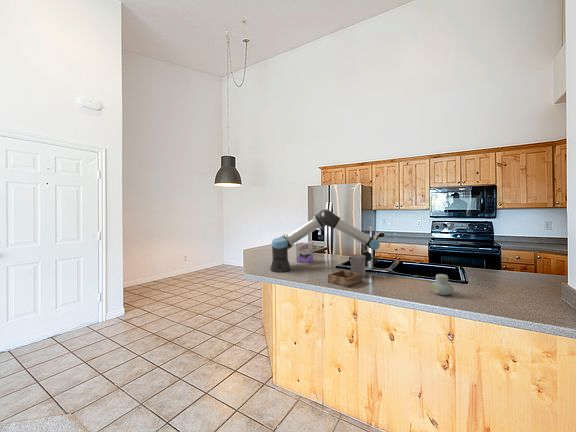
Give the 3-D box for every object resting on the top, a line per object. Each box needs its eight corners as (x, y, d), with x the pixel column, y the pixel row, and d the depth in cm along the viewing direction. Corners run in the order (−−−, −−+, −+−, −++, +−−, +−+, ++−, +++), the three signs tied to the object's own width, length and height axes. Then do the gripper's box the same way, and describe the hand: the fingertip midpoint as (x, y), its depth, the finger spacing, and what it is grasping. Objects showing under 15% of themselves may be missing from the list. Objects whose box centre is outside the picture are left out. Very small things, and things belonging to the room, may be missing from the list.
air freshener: (428, 290, 152) (428, 273, 151) (442, 289, 152) (442, 272, 152) (440, 297, 141) (440, 278, 140) (456, 296, 142) (456, 277, 141)
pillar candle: (349, 274, 190) (348, 252, 188) (362, 273, 190) (362, 252, 189) (353, 278, 180) (353, 255, 179) (367, 277, 181) (367, 255, 180)
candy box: (296, 262, 230) (296, 243, 229) (297, 260, 236) (296, 241, 235) (312, 262, 228) (312, 242, 227) (313, 260, 233) (312, 241, 233)
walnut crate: (328, 282, 172) (327, 274, 172) (342, 277, 182) (342, 270, 182) (347, 287, 161) (347, 279, 161) (362, 281, 171) (361, 274, 171)
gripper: (383, 262, 202) (379, 269, 183) (350, 259, 213) (343, 265, 195) (383, 252, 202) (379, 258, 183) (350, 250, 213) (342, 255, 194)
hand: (360, 262), depth 189 cm, fingers open, 13 cm apart
